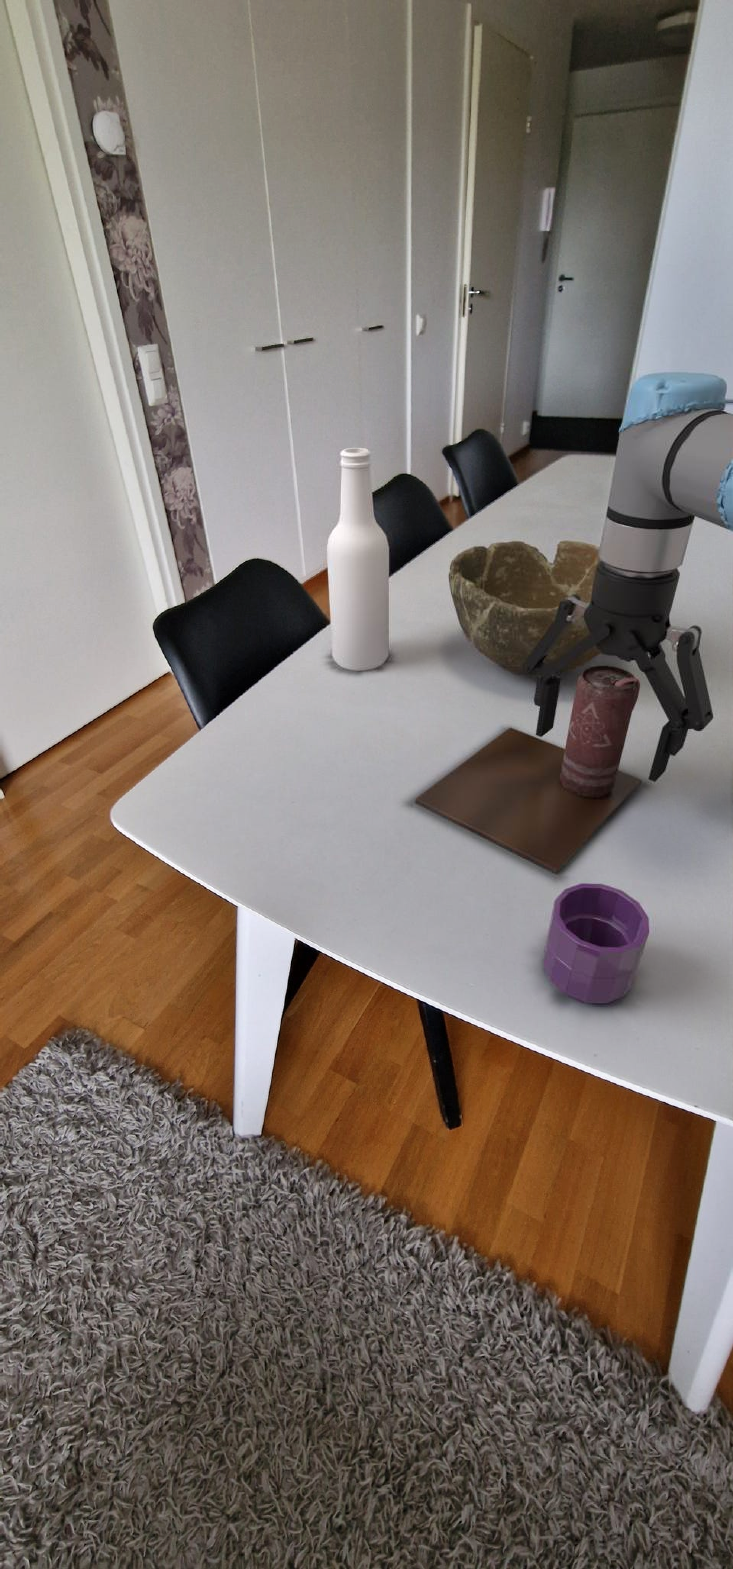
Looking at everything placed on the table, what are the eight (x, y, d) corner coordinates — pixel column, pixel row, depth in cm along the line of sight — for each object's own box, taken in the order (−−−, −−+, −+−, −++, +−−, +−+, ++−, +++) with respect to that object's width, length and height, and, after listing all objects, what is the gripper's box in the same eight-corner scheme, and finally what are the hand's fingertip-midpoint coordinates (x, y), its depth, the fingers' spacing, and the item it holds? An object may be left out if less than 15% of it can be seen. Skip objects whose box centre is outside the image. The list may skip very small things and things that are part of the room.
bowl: (445, 623, 120) (449, 534, 111) (606, 627, 118) (624, 536, 109) (442, 704, 98) (448, 601, 89) (641, 711, 95) (667, 606, 87)
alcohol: (394, 669, 107) (395, 455, 89) (337, 675, 105) (326, 460, 88) (382, 644, 114) (381, 442, 96) (328, 649, 112) (317, 445, 94)
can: (621, 799, 79) (649, 690, 71) (565, 799, 79) (586, 690, 71) (608, 768, 84) (632, 662, 76) (554, 768, 84) (573, 663, 76)
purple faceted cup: (645, 967, 61) (664, 911, 57) (605, 1024, 57) (623, 968, 52) (568, 925, 65) (581, 870, 61) (526, 975, 61) (536, 920, 56)
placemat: (641, 783, 82) (642, 779, 82) (555, 874, 71) (556, 869, 70) (509, 731, 92) (510, 727, 92) (415, 802, 80) (415, 798, 80)
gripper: (794, 583, 61) (724, 779, 74) (542, 529, 75) (519, 703, 87) (766, 609, 57) (696, 813, 69) (503, 547, 70) (485, 727, 83)
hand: (597, 752), depth 78 cm, fingers open, 13 cm apart
